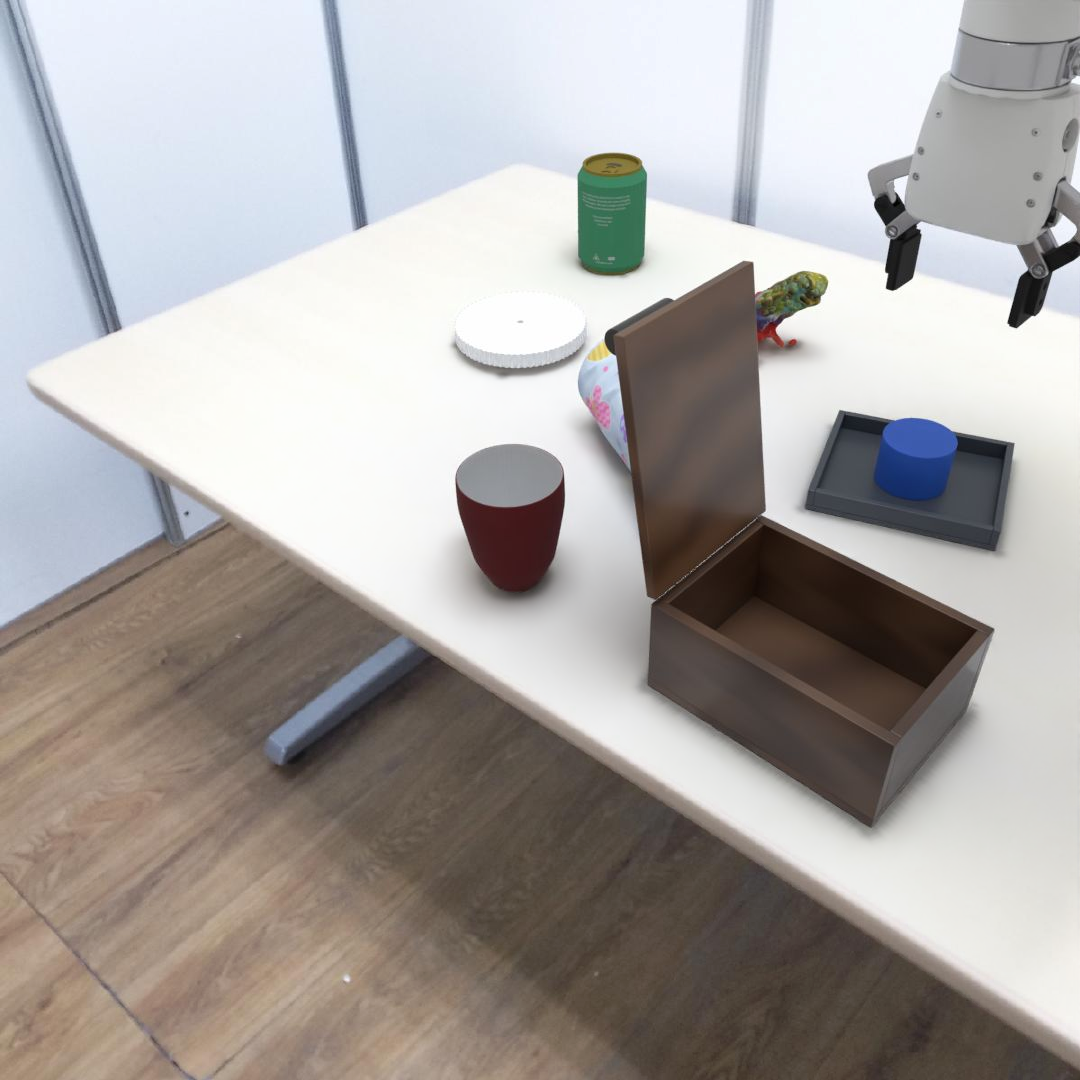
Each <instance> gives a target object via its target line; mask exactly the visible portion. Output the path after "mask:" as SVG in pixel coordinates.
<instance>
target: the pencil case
mask: <svg viewBox="0 0 1080 1080" xmlns="http://www.w3.org/2000/svg"><path fill="white" fill-rule="evenodd" d="M577 390H578V394H579V396H580V397H581V400H582V402H583V404H584V405H585V406H586V407H587V409H588V410H589V412H590V414H591V416H592V417H593V418H594V420H595V422H596V425H597V426H598V427H599V429H600V431H601V433H602V434H603V436H604V437H605V439H606V440H607V441H608V443H609V444H610V445H611V447H612V448H613V449H614V451H615V452H616V453H617V454H618V455H619V457H620V458H621V460H622V461H623V463H624V464H625V466H626V467H627V469H628V470H629V471H630V472H631V468H630V460H629V453H628V445H627V437H626V429H625V422H624V414H623V406H622V398H621V391H620V383H619V375H618V367H617V360H616V356H615V355H613V354H612V353H611V352H610V351H609V350H608V349H607V347H606V345H605V341H604V338H603V339H601V340H599V341H598V342H597V343H596V344H595V345H594V346H593V347H592V348H591V349H590V350H589V352H588V353H587V354H586V356H585V358H584V359H583V362H582V364H581V366H580V369H579V372H578V378H577Z"/></svg>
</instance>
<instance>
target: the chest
mask: <svg viewBox="0 0 1080 1080" xmlns="http://www.w3.org/2000/svg"><path fill="white" fill-rule="evenodd" d="M995 631H996V629H995V627H992V626H990V625H988V624H986V623H984V622H982V621H980V620H978V619H976V618H975V617H974V618H973V617H971V616H969V615H967V614H965V613H963V612H962V611H959V610H957V609H955V608H953V607H951V606H949V605H947V604H944V603H943V602H941V601H940V600H939V601H938V600H936V599H934V598H933V597H930V596H928V595H926V594H925V593H922V592H921V591H918V590H916V589H915V588H913V587H910V586H908V585H907V584H904V583H902V582H900V581H898V580H896V579H893V578H891V577H889V576H887V575H885V574H883V573H881V572H879V571H878V570H875V569H873V568H871V567H869V566H867V565H865V564H862V563H861V562H859V561H857V560H855V559H852V558H851V557H849V556H846V555H844V554H842V553H841V552H838V551H837V550H834V549H832V548H830V547H828V546H826V545H824V544H823V543H820V542H817V541H816V540H814V539H812V538H809V537H808V536H805V535H803V534H801V533H799V532H797V531H795V530H794V529H791V528H789V527H787V526H785V525H783V524H781V523H779V522H777V521H775V520H773V519H771V518H768V517H766V516H765V515H763V514H761V515H760V516H759V517H757V518H756V519H755V520H754V521H753V522H751V523H750V524H749V525H748V526H746V527H745V528H744V529H743V530H742V531H740V532H739V533H738V534H737V535H735V536H734V537H733V538H732V539H730V540H729V541H728V542H727V543H726V544H724V545H723V546H722V547H721V548H719V549H718V550H717V551H716V552H714V553H713V554H712V555H711V556H710V557H708V558H707V559H706V560H705V561H703V562H702V563H701V564H700V565H699V566H697V567H696V568H695V569H694V570H692V571H691V572H690V573H689V574H687V575H686V576H685V577H684V578H683V579H681V580H680V581H679V582H678V583H676V584H675V585H674V586H673V587H672V588H670V589H669V590H668V591H667V592H665V593H664V594H663V595H662V596H660V597H659V598H658V599H657V600H654V601H653V602H652V603H651V605H650V623H649V643H648V644H649V645H648V663H647V664H648V665H647V685H648V686H649V687H651V688H652V689H654V690H655V691H657V692H658V693H660V694H661V695H663V696H665V697H667V698H668V699H669V700H671V701H672V702H674V703H675V704H677V705H679V706H681V707H682V708H684V709H685V710H686V711H688V712H690V713H691V714H693V715H694V716H696V717H698V718H699V719H700V720H703V721H704V722H706V723H707V724H708V725H710V726H712V727H713V728H714V729H716V730H717V731H719V732H721V733H723V734H724V735H726V736H727V737H729V738H730V739H732V740H734V741H735V742H737V743H738V744H740V745H741V746H743V747H744V748H746V749H748V750H749V751H751V752H752V753H754V754H756V755H757V756H758V757H760V758H762V759H763V760H765V761H766V762H768V763H769V764H771V765H773V766H774V767H776V768H778V769H779V770H780V771H782V772H784V773H785V774H786V775H788V776H790V777H791V778H793V779H795V780H796V781H797V782H799V783H801V784H802V785H804V786H805V787H807V788H809V789H810V790H811V791H813V792H815V793H816V794H818V795H820V796H821V797H823V798H824V799H826V800H827V801H828V802H830V803H832V804H833V805H835V806H836V807H838V808H840V809H841V810H842V811H844V812H846V813H848V814H849V815H851V816H852V817H854V818H855V819H857V820H859V821H860V822H861V823H863V824H865V825H866V826H868V827H870V828H872V827H873V826H874V825H875V824H876V823H877V821H878V820H879V818H880V817H882V815H883V814H884V813H885V812H886V810H887V809H888V808H889V806H890V805H891V804H892V803H893V802H894V800H895V799H896V798H897V797H898V796H899V794H900V793H901V792H902V791H903V790H904V788H905V787H906V786H907V784H908V783H909V782H910V781H911V780H912V779H913V777H914V776H915V775H916V774H917V772H919V770H920V769H921V768H922V766H923V765H924V764H925V762H926V761H927V760H928V759H929V758H930V757H931V755H932V754H933V753H934V752H935V750H936V749H937V748H938V747H939V746H940V744H941V743H942V742H943V740H945V738H946V737H947V736H948V734H949V733H950V732H951V731H952V730H953V728H954V727H955V726H956V724H957V723H958V722H959V721H960V719H962V717H963V716H964V715H965V713H967V711H968V708H969V705H970V703H971V699H972V697H973V694H974V692H975V688H976V686H977V683H978V680H979V677H980V674H981V671H982V668H983V666H984V662H985V659H986V656H987V654H988V651H989V648H990V645H991V643H992V639H993V637H994V633H995Z"/></svg>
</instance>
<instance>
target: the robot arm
mask: <svg viewBox="0 0 1080 1080" xmlns="http://www.w3.org/2000/svg"><path fill="white" fill-rule="evenodd" d="M962 3H963V4H962V10H961V14H960V19H959V25H958V28H957V34H956V39H955V45H954V50H953V54H952V60H951V65H950V69H949V70H947V71H946V72H944V73H943V74H941V76H940V78H939V79H938V82H937V84H936V86H935V89H934V92H933V94H932V96H931V98H930V102H929V104H928V106H927V110H926V112H925V115H924V118H923V121H922V124H921V127H920V131H919V133H918V137H917V139H916V140H917V141H916V144H915V148H914V150H913V154H910V155H909V154H908V155H906V156H903V157H900V158H897V159H893V160H890V161H887V162H884V163H881V164H879V165H877V166H875V167H872V168H871V169H869V170H868V171H867V180H868V183H869V187H870V191H871V194H872V197H873V198H874V203H873V208H874V210H875V212H876V213H877V216H879V218H880V220H881V221H882V223H883V224H884V226H885V228H884V234H885V237H887V238H888V239H889V244H888V250H887V256H886V261H885V267H884V273H885V274H887V277H886V278H887V279H886V283H885V290H888V291H891V292H894V291H897V290H898V289H900V288H902V287H903V286H904V285H906V284H907V283H909V282H910V281H912V280H913V278H914V276H915V271H916V267H917V261H918V256H919V251H920V247H921V241H922V233H921V232H922V230H921V229H919V228H918V225H919V224H920V223H921V222H922V223H925V224H928V225H932V226H935V227H938V228H939V227H940V228H943V229H945V230H950V231H955V232H958V233H961V234H966V235H970V236H973V237H978V238H982V239H985V240H989V241H994V242H998V243H1001V244H1005V245H1006V244H1007V245H1011V246H1016V247H1017V250H1018V252H1019V253H1020V255H1021V257H1022V259H1023V261H1024V263H1025V265H1026V266H1025V267H1026V268H1027V269H1026V271H1025V272H1023V273H1022V274H1021V275H1020V276H1019V277H1018V281H1017V284H1016V288H1015V292H1014V297H1013V299H1012V303H1011V307H1010V311H1009V314H1008V318H1007V321H1006V324H1007V325H1008V327H1009V328H1010V327H1011V328H1013V329H1016V330H1017V329H1018V328H1019V327H1020V326H1022V325H1023V324H1024V323H1025V322H1027V321H1028V320H1029V319H1030V318H1031V317H1036V316H1037V315H1039V314H1040V312H1041V311H1042V309H1043V307H1044V304H1045V300H1046V298H1047V293H1048V291H1049V286H1050V283H1051V280H1052V276H1053V273H1054V272H1055V271H1057V270H1059V269H1061V268H1063V267H1064V266H1066V265H1068V264H1070V263H1073V262H1074V261H1076V260H1077V259H1079V257H1080V191H1078V190H1077V189H1076V188H1075V187H1074V186H1072V180H1073V175H1074V170H1075V163H1076V159H1077V154H1078V153H1077V152H1078V146H1079V141H1080V84H1079V83H1076V82H1075V83H1074V82H1072V80H1074V79H1076V78H1077V77H1080V0H963V2H962ZM906 176H908V177H907V181H906V186H905V193H904V201H903V200H902V198H901V197H900V195H899V194H898V192H896V190H895V180H897V179H901V178H904V177H906ZM1063 216H1064V217H1065V218H1066V219H1068V221H1070V222H1071V223H1072V224H1073V225H1074V226H1075V227H1076V228H1075V229H1076V232H1075V233H1074V235H1073V236H1072V237H1071V238H1070V239H1069V240H1068V241H1066V242H1064V243H1062V244H1061V245H1059V243H1058V242H1057V239H1056V237H1055V235H1054V233H1053V231H1052V228H1054V227H1056V226H1057V225H1058V224H1059V223H1060V221H1062V220H1061V219H1062V217H1063Z"/></svg>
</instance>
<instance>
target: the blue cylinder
mask: <svg viewBox="0 0 1080 1080" xmlns="http://www.w3.org/2000/svg"><path fill="white" fill-rule="evenodd" d="M894 420H895V419H894ZM952 431H953V430H951V429H950V428H948V427H947V426H945V425H944V424H941V423H940V422H938V421H934V420H930V419H928V418H927V419H925V418H919V417H904V418H899V419H896V420H895V421H893V422H891V423H889V424H888V425H887V426H886V427H885V428H884V430H883V434H882V439H881V444H880V448H879V453H878V458H877V462H876V467H875V472H874V478H875V481H876V483H877V484H878V485H879V486H880V487H881V488H882V489H883V490H884V491H886V492H888V493H889V494H891V495H894V496H896V497H899V498H903V499H908V500H927V499H932V498H935V497H937V496H939V495H940V494H942V493H943V491H944V490H945V488H946V485H947V482H948V478H949V474H950V470H951V467H952V463H953V459H954V456H955V452H956V448H957V445H958V441H957V438H956V436H955V434H954V433H953V432H952Z"/></svg>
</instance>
